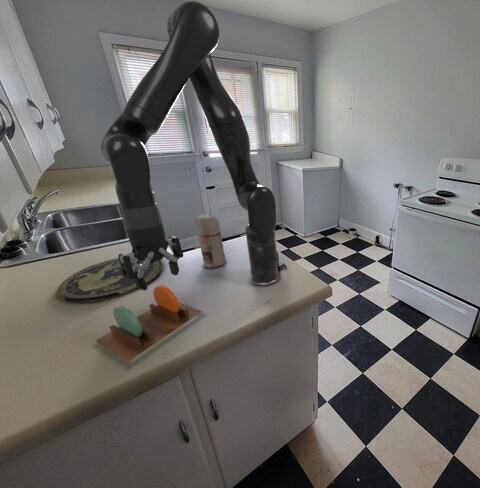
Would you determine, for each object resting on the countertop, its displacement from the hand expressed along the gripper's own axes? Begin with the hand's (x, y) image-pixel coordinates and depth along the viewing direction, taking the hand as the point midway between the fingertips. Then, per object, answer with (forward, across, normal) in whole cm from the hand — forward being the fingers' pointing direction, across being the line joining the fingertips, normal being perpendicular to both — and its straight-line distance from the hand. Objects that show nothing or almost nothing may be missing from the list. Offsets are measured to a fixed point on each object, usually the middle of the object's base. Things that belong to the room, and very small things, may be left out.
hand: (160, 281), depth 71 cm
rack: (+12, -5, 0) cm, 13 cm away
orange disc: (+11, 0, 0) cm, 11 cm away
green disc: (+11, -10, 0) cm, 15 cm away
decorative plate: (+12, +5, +38) cm, 40 cm away
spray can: (+12, +29, +15) cm, 35 cm away
